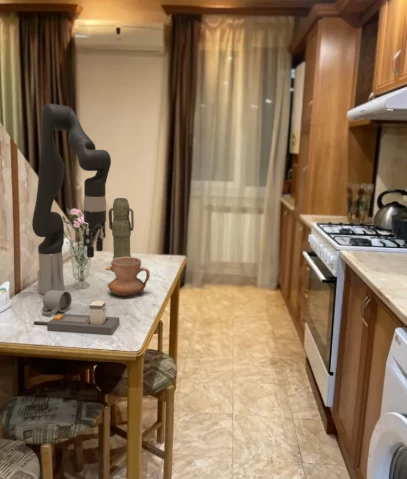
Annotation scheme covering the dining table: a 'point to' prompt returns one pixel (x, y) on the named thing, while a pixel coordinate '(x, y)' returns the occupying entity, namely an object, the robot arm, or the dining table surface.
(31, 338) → the dining table surface
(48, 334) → the dining table surface
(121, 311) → the dining table surface
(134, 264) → the ceramic jug
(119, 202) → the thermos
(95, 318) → the block
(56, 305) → the ceramic mug
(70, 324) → the power strip
